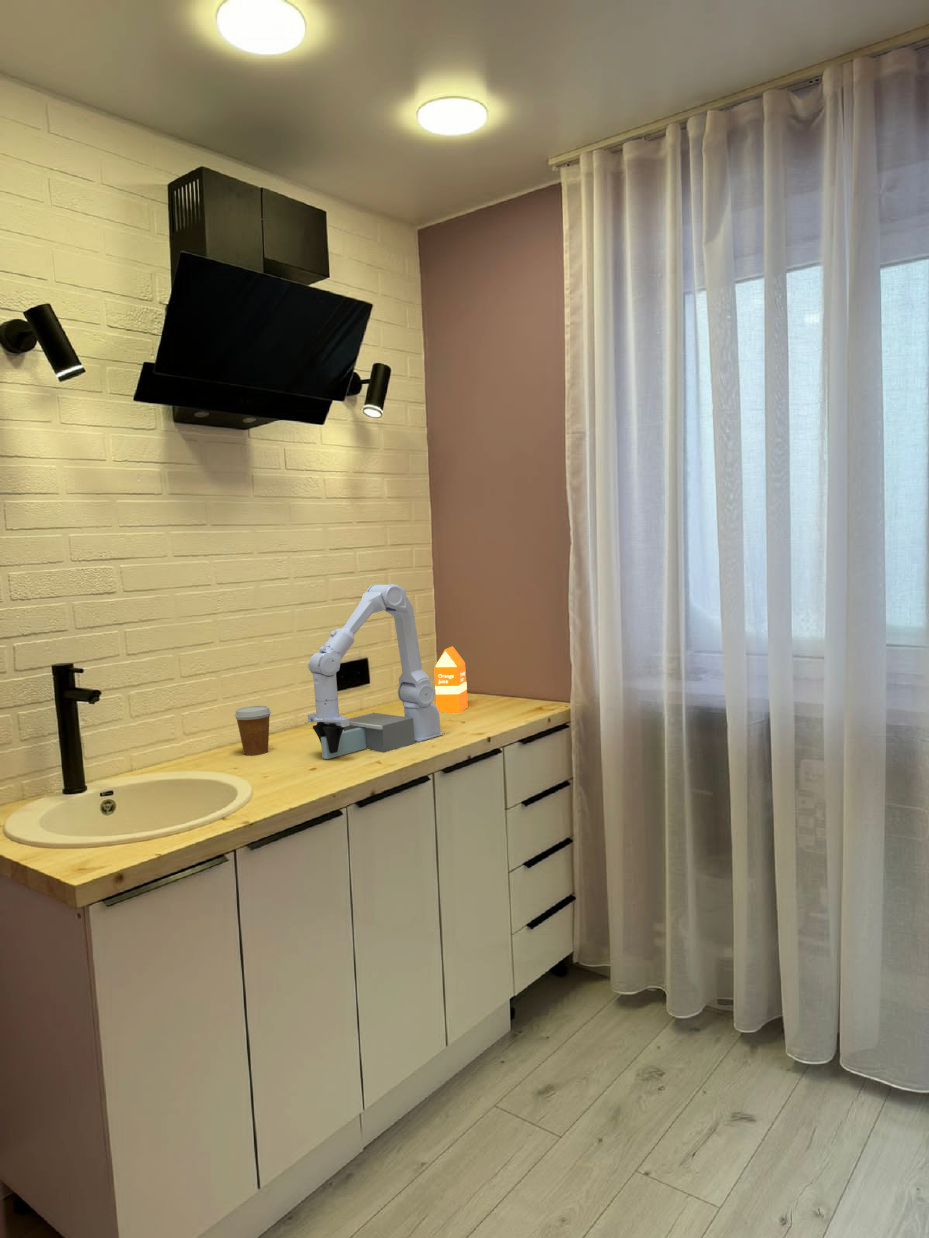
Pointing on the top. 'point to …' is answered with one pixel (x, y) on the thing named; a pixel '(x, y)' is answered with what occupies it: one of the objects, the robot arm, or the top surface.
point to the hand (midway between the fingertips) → (330, 751)
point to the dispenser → (385, 731)
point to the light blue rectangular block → (346, 743)
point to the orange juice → (451, 682)
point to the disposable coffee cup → (254, 729)
